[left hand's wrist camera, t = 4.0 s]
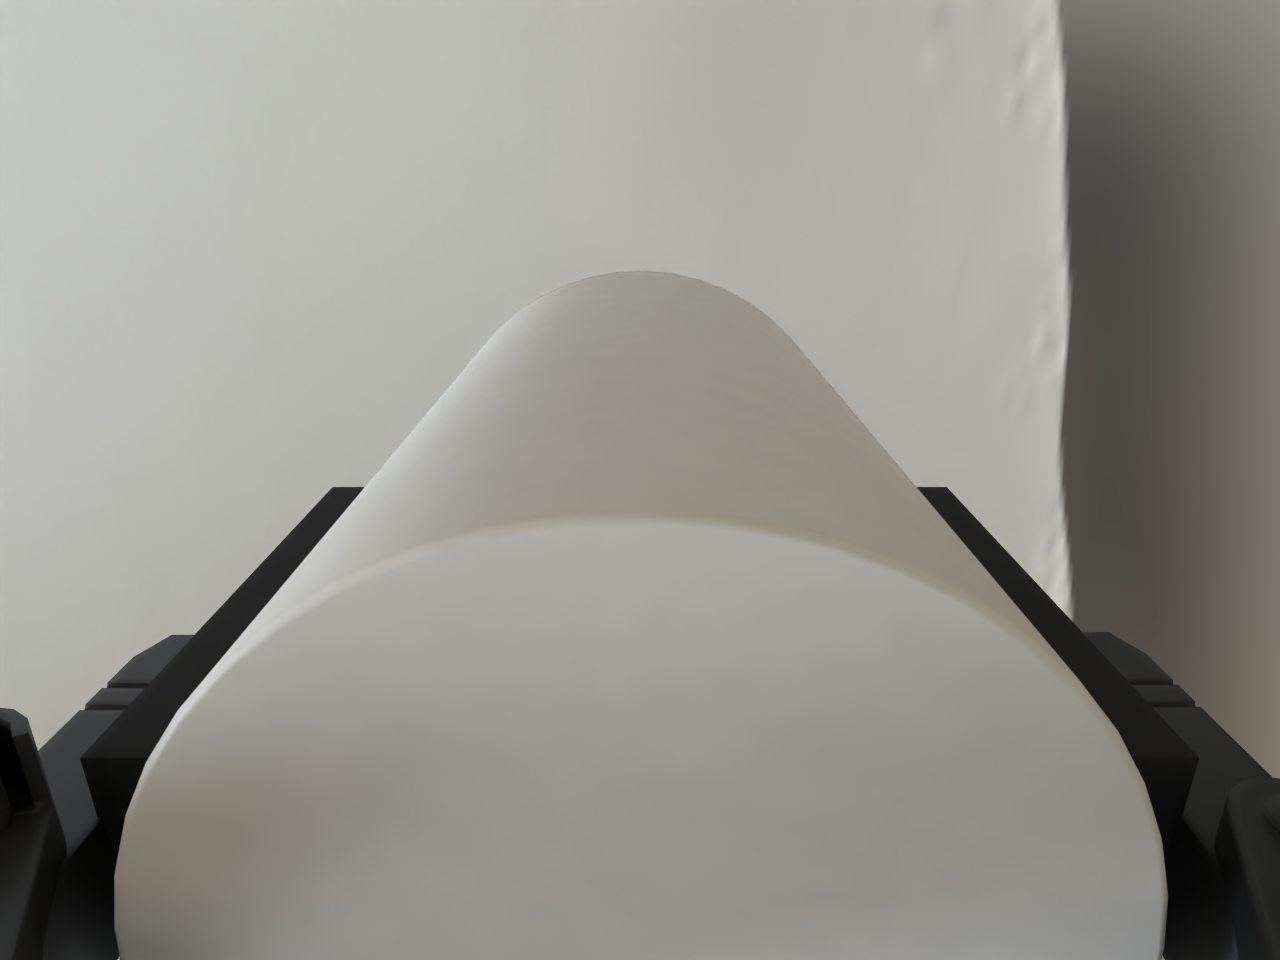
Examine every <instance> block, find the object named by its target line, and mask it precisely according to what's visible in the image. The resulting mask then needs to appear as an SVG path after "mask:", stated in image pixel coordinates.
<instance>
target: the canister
mask: <svg viewBox="0 0 1280 960" xmlns="http://www.w3.org/2000/svg"><path fill="white" fill-rule="evenodd" d="M1167 904H1168V891H1167V882H1166V873H1165V863H1164V854H1163V845H1162V839H1161V835H1160V832H1159V828H1158V825H1157V822H1156V818H1155V815H1154V812H1153V808H1152V805H1151V802H1150V799H1149V795H1148V792H1147V789H1146V785H1145V783H1144V781H1143V779H1142V777H1141V775H1140V773H1139V771H1138V769H1137V767H1136V765H1135V763H1134V761H1133V759H1132V757H1131V755H1130V753H1129V752H1128V750H1127V748H1126V746H1125V744H1124V742H1123V740H1122V738H1121V736H1120V734H1119V732H1118V730H1117V729H1116V728H1115V727H1114V725H1113V724H1112V723H1111V721H1110V720H1109V719H1108V717H1107V716H1106V715H1105V713H1104V712H1103V711H1102V709H1101V708H1100V707H1099V705H1098V704H1097V703H1096V701H1095V700H1094V699H1093V697H1092V696H1091V695H1090V694H1089V692H1088V691H1087V690H1086V688H1085V687H1084V686H1083V684H1082V683H1081V682H1080V680H1079V679H1078V678H1077V677H1076V676H1075V674H1074V673H1073V672H1072V671H1071V670H1070V669H1069V667H1068V666H1067V665H1066V664H1065V663H1064V661H1063V660H1062V659H1061V658H1060V657H1059V655H1058V654H1057V653H1056V652H1055V651H1054V650H1053V648H1052V647H1051V646H1050V645H1049V644H1048V642H1047V641H1046V640H1045V639H1044V638H1043V637H1042V635H1041V634H1040V633H1039V632H1038V631H1037V629H1036V628H1035V627H1034V626H1033V625H1032V624H1031V622H1030V621H1029V620H1028V619H1027V618H1026V616H1025V615H1024V614H1023V613H1022V612H1021V610H1020V609H1019V608H1018V607H1017V606H1016V605H1015V603H1014V602H1013V601H1012V600H1011V599H1010V597H1009V596H1008V595H1007V594H1006V593H1005V592H1004V590H1003V589H1002V588H1001V587H1000V586H999V584H998V583H997V582H996V581H995V580H994V578H993V577H992V576H991V575H990V574H989V573H988V571H987V570H986V569H985V568H984V567H983V565H982V564H981V563H980V562H979V561H978V560H977V558H976V557H975V556H974V555H973V554H972V552H971V551H970V550H969V549H968V548H967V546H966V545H965V544H964V543H963V542H962V541H961V539H960V538H959V537H958V536H957V535H956V533H955V532H954V531H953V530H952V529H951V528H950V526H949V525H948V524H947V523H946V522H945V520H944V519H943V518H942V517H941V516H940V514H939V513H938V512H937V511H936V510H935V509H934V507H933V506H932V505H931V504H930V503H929V501H928V500H927V499H926V498H925V497H924V496H923V494H922V493H921V492H920V491H919V490H918V488H917V487H916V486H915V485H914V484H913V482H912V481H911V480H910V479H909V478H908V477H907V475H906V474H905V473H904V472H903V471H902V469H901V468H900V467H899V466H898V465H897V464H896V462H895V461H894V460H893V459H892V458H891V456H890V455H889V454H888V453H887V452H886V450H885V449H884V448H883V447H882V446H881V445H880V443H879V442H878V441H877V440H876V439H875V437H874V436H873V435H872V434H871V433H870V432H869V430H868V429H867V428H866V427H865V426H864V424H863V423H862V422H861V421H860V420H859V418H858V417H857V416H856V415H855V414H854V413H853V411H852V410H851V409H850V408H849V407H848V405H847V404H846V403H845V402H844V401H843V400H842V398H841V397H840V396H839V395H838V394H837V392H836V391H835V390H834V389H833V388H832V386H831V385H830V384H829V383H828V382H827V381H826V379H825V378H824V377H823V376H822V375H821V373H820V372H819V371H818V370H817V369H816V368H815V366H814V365H813V364H812V363H811V362H810V360H809V359H808V358H807V357H806V356H805V354H804V353H803V352H802V351H801V350H800V349H799V347H798V346H797V345H796V344H795V343H794V341H793V340H792V339H791V338H790V337H789V336H788V335H787V334H786V333H785V332H784V331H783V330H782V329H781V328H780V327H779V326H778V325H777V324H776V323H775V322H774V321H773V320H772V319H771V318H770V317H768V316H767V315H766V314H764V313H763V312H761V311H760V310H759V309H757V308H756V307H755V306H753V305H752V304H751V303H749V302H747V301H746V300H744V299H742V298H740V297H738V296H736V295H735V294H733V293H731V292H729V291H727V290H725V289H723V288H720V287H717V286H715V285H712V284H710V283H707V282H704V281H702V280H698V279H694V278H690V277H685V276H681V275H677V274H671V273H661V272H650V271H636V272H616V273H611V274H605V275H599V276H594V277H589V278H586V279H583V280H580V281H577V282H574V283H570V284H567V285H564V286H562V287H560V288H558V289H556V290H554V291H552V292H550V293H548V294H546V295H543V296H541V297H540V298H538V299H536V300H535V301H533V302H532V303H530V304H529V305H527V306H526V307H524V308H523V309H521V310H520V311H518V312H517V313H516V314H515V315H514V316H512V317H511V318H510V319H509V320H508V321H507V322H506V323H504V324H503V325H502V326H501V327H500V328H499V329H498V330H497V331H496V332H495V333H494V334H493V336H492V337H491V338H490V339H489V340H488V341H487V342H486V344H485V345H484V346H483V347H482V348H481V349H480V351H479V352H478V353H477V354H476V355H475V357H474V358H473V359H472V360H471V361H470V363H469V364H468V365H467V366H466V367H465V368H464V370H463V371H462V372H461V373H460V374H459V376H458V377H457V378H456V379H455V380H454V382H453V383H452V384H451V385H450V386H449V388H448V389H447V390H446V391H445V392H444V394H443V395H442V396H441V397H440V398H439V399H438V401H437V402H436V403H435V404H434V405H433V407H432V408H431V409H430V410H429V411H428V413H427V414H426V415H425V416H424V417H423V419H422V420H421V421H420V422H419V423H418V425H417V426H416V427H415V428H414V429H413V430H412V432H411V433H410V434H409V435H408V436H407V438H406V439H405V440H404V441H403V442H402V444H401V445H400V446H399V447H398V448H397V450H396V451H395V452H394V453H393V454H392V456H391V457H390V458H389V459H388V460H387V461H386V463H385V464H384V465H383V466H382V467H381V469H380V470H379V471H378V472H377V473H376V475H375V476H374V477H373V478H372V479H371V481H370V482H369V483H368V484H367V485H366V487H365V488H364V489H363V490H362V491H361V492H360V494H359V495H358V496H357V497H356V498H355V500H354V501H353V502H352V503H351V504H350V506H349V507H348V508H347V509H346V510H345V512H344V513H343V514H342V515H341V516H340V517H339V519H338V520H337V521H336V522H335V523H334V525H333V526H332V527H331V528H330V529H329V531H328V532H327V533H326V534H325V535H324V537H323V538H322V539H321V540H320V541H319V543H318V544H317V545H316V546H315V547H314V548H313V550H312V551H311V552H310V553H309V554H308V556H307V557H306V558H305V559H304V560H303V562H302V563H301V564H300V565H299V566H298V568H297V569H296V570H295V571H294V572H293V574H292V575H291V576H290V577H289V578H288V579H287V581H286V582H285V583H284V584H283V585H282V587H281V588H280V589H279V590H278V591H277V593H276V594H275V595H274V596H273V597H272V599H271V600H270V601H269V602H268V603H267V605H266V606H265V607H264V608H263V609H262V610H261V612H260V613H259V614H258V615H257V616H256V618H255V619H254V620H253V621H252V622H251V624H250V625H249V626H248V627H247V628H246V630H245V631H244V632H243V633H242V634H241V636H240V637H239V638H238V639H237V640H236V641H235V643H234V644H233V645H232V646H231V647H230V649H229V650H228V651H227V652H226V653H225V655H224V656H223V657H222V658H221V659H220V661H219V662H218V663H217V664H216V665H215V667H214V668H213V669H212V670H211V671H210V672H209V674H208V675H207V676H206V677H205V678H204V680H203V681H202V682H201V683H200V684H199V686H198V687H197V688H196V689H195V690H194V692H193V693H192V694H191V695H190V696H189V698H188V699H187V700H186V701H185V702H184V703H183V705H182V706H181V707H180V708H179V709H178V711H177V712H176V714H175V716H174V717H173V719H172V720H171V722H170V724H169V725H168V727H167V729H166V730H165V732H164V734H163V735H162V737H161V739H160V740H159V742H158V743H157V745H156V747H155V748H154V750H153V752H152V753H151V755H150V757H149V758H148V760H147V762H146V764H145V766H144V769H143V771H142V774H141V777H140V779H139V782H138V784H137V787H136V790H135V792H134V795H133V797H132V800H131V803H130V805H129V808H128V810H127V813H126V816H125V821H124V826H123V832H122V837H121V842H120V848H119V853H118V859H117V864H116V869H115V875H114V928H115V933H116V939H117V944H118V950H119V955H120V960H1161V958H1162V954H1163V950H1164V945H1165V931H1166V918H1167Z"/></svg>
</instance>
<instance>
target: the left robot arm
mask: <svg viewBox="0 0 1280 960" xmlns="http://www.w3.org/2000/svg"><path fill="white" fill-rule="evenodd" d="M364 488H365V487H332V489H331V490H330V491H329V492H328V493H327V494H326V495H325V496H324V497H323V498H322V499H321V500H320V501H319V502H318V504H317V505H316V506H315V507H314V508H313V509H312V510H311V511H310V512H309V513H308V514H307V515H306V516H305V517H304V519H303V520H302V521H301V522H300V523H299V524H298V525H297V526H296V527H295V528H294V529H293V530H292V531H291V532H290V533H289V535H288V536H287V537H286V538H285V539H284V540H283V541H282V542H281V543H280V544H279V545H278V546H277V547H276V548H275V550H274V551H273V552H272V553H271V554H270V555H269V556H268V557H267V558H266V559H265V560H264V561H263V562H262V563H261V565H260V566H259V567H258V568H257V569H256V570H255V571H254V572H253V573H252V574H251V575H250V576H249V577H248V578H247V580H246V581H245V582H244V583H243V584H242V585H241V586H240V587H239V588H238V589H237V590H236V591H235V592H234V593H233V594H232V596H231V597H230V598H229V599H228V600H227V601H226V602H225V603H224V604H223V605H222V606H221V607H220V608H219V609H218V611H217V612H216V613H215V614H214V615H213V616H212V617H211V618H210V619H209V620H208V621H207V622H206V623H205V624H204V626H203V627H202V628H201V629H200V630H199V631H198V632H197V633H196V634H195V635H171V636H169V637H168V638H166V639H164V640H162V641H161V642H159V643H157V644H155V645H154V646H152V647H150V648H149V649H147V650H145V651H143V652H142V653H140V654H138V655H136V656H135V657H133V658H132V659H131V660H130V661H129V662H128V663H127V664H126V665H125V666H124V667H123V668H122V669H121V670H120V671H119V672H118V673H117V674H116V675H115V676H114V677H113V678H112V679H111V680H110V681H109V682H108V683H107V688H102V689H101V690H100V691H99V692H98V693H97V694H96V695H95V696H94V697H93V698H92V699H91V700H90V701H89V702H88V703H87V704H86V705H85V706H86V707H85V710H79V711H78V712H77V713H76V714H75V715H74V716H73V717H72V718H71V719H70V720H69V721H68V722H67V723H66V724H65V725H64V726H63V727H62V728H61V729H60V730H59V731H58V732H57V733H56V734H55V735H54V736H53V737H52V738H51V739H50V740H49V741H48V742H47V743H46V744H45V745H44V746H43V747H42V748H41V749H40V750H39V751H38V750H37V747H36V744H35V741H34V737H33V734H32V731H31V728H30V725H29V722H28V719H27V718H26V717H25V716H23V715H22V714H20V713H18V712H17V711H15V710H14V709H6V708H0V960H117V959H118V958H119V956H120V955H119V950H118V944H117V939H116V933H115V928H114V875H115V869H116V864H117V859H118V853H119V848H120V842H121V837H122V832H123V826H124V821H125V816H126V813H127V810H128V808H129V805H130V803H131V800H132V797H133V795H134V792H135V790H136V787H137V784H138V782H139V779H140V777H141V774H142V771H143V769H144V766H145V764H146V762H147V760H148V758H149V757H150V755H151V753H152V752H153V750H154V748H155V747H156V745H157V743H158V742H159V740H160V739H161V737H162V735H163V734H164V732H165V730H166V729H167V727H168V725H169V724H170V722H171V720H172V719H173V717H174V716H175V714H176V712H177V711H178V709H179V708H180V707H181V706H182V705H183V703H184V702H185V701H186V700H187V699H188V698H189V696H190V695H191V694H192V693H193V692H194V690H195V689H196V688H197V687H198V686H199V684H200V683H201V682H202V681H203V680H204V678H205V677H206V676H207V675H208V674H209V672H210V671H211V670H212V669H213V668H214V667H215V665H216V664H217V663H218V662H219V661H220V659H221V658H222V657H223V656H224V655H225V653H226V652H227V651H228V650H229V649H230V647H231V646H232V645H233V644H234V643H235V641H236V640H237V639H238V638H239V637H240V636H241V634H242V633H243V632H244V631H245V630H246V628H247V627H248V626H249V625H250V624H251V622H252V621H253V620H254V619H255V618H256V616H257V615H258V614H259V613H260V612H261V610H262V609H263V608H264V607H265V606H266V605H267V603H268V602H269V601H270V600H271V599H272V597H273V596H274V595H275V594H276V593H277V591H278V590H279V589H280V588H281V587H282V585H283V584H284V583H285V582H286V581H287V579H288V578H289V577H290V576H291V575H292V574H293V572H294V571H295V570H296V569H297V568H298V566H299V565H300V564H301V563H302V562H303V560H304V559H305V558H306V557H307V556H308V554H309V553H310V552H311V551H312V550H313V548H314V547H315V546H316V545H317V544H318V543H319V541H320V540H321V539H322V538H323V537H324V535H325V534H326V533H327V532H328V531H329V529H330V528H331V527H332V526H333V525H334V523H335V522H336V521H337V520H338V519H339V517H340V516H341V515H342V514H343V513H344V512H345V510H346V509H347V508H348V507H349V506H350V504H351V503H352V502H353V501H354V500H355V498H356V497H357V496H358V495H359V494H360V492H361V491H362V490H363V489H364ZM917 488H918V490H919V491H920V492H921V493H922V494H923V496H924V497H925V498H926V499H927V500H928V501H929V503H930V504H931V505H932V506H933V507H934V509H935V510H936V511H937V512H938V513H939V514H940V516H941V517H942V518H943V519H944V520H945V522H946V523H947V524H948V525H949V526H950V528H951V529H952V530H953V531H954V532H955V533H956V535H957V536H958V537H959V538H960V539H961V541H962V542H963V543H964V544H965V545H966V546H967V548H968V549H969V550H970V551H971V552H972V554H973V555H974V556H975V557H976V558H977V560H978V561H979V562H980V563H981V564H982V565H983V567H984V568H985V569H986V570H987V571H988V573H989V574H990V575H991V576H992V577H993V578H994V580H995V581H996V582H997V583H998V584H999V586H1000V587H1001V588H1002V589H1003V590H1004V592H1005V593H1006V594H1007V595H1008V596H1009V597H1010V599H1011V600H1012V601H1013V602H1014V603H1015V605H1016V606H1017V607H1018V608H1019V609H1020V610H1021V612H1022V613H1023V614H1024V615H1025V616H1026V618H1027V619H1028V620H1029V621H1030V622H1031V624H1032V625H1033V626H1034V627H1035V628H1036V629H1037V631H1038V632H1039V633H1040V634H1041V635H1042V637H1043V638H1044V639H1045V640H1046V641H1047V642H1048V644H1049V645H1050V646H1051V647H1052V648H1053V650H1054V651H1055V652H1056V653H1057V654H1058V655H1059V657H1060V658H1061V659H1062V660H1063V661H1064V663H1065V664H1066V665H1067V666H1068V667H1069V669H1070V670H1071V671H1072V672H1073V673H1074V674H1075V676H1076V677H1077V678H1078V679H1079V680H1080V682H1081V683H1082V684H1083V686H1084V687H1085V688H1086V690H1087V691H1088V692H1089V694H1090V695H1091V696H1092V697H1093V699H1094V700H1095V701H1096V703H1097V704H1098V705H1099V707H1100V708H1101V709H1102V711H1103V712H1104V713H1105V715H1106V716H1107V717H1108V719H1109V720H1110V721H1111V723H1112V724H1113V725H1114V727H1115V728H1116V729H1117V730H1118V732H1119V734H1120V736H1121V738H1122V740H1123V742H1124V744H1125V746H1126V748H1127V750H1128V752H1129V753H1130V755H1131V757H1132V759H1133V761H1134V763H1135V765H1136V767H1137V769H1138V771H1139V773H1140V775H1141V777H1142V779H1143V781H1144V783H1145V785H1146V789H1147V792H1148V795H1149V799H1150V802H1151V805H1152V808H1153V812H1154V815H1155V818H1156V822H1157V825H1158V828H1159V832H1160V835H1161V839H1162V845H1163V854H1164V863H1165V873H1166V882H1167V891H1168V904H1167V918H1166V931H1165V945H1164V950H1163V954H1162V955H1163V957H1164V958H1165V960H1280V779H1277V778H1273V777H1271V776H1270V775H1269V774H1268V773H1267V772H1266V771H1265V770H1264V769H1263V768H1262V767H1261V766H1260V765H1259V764H1258V763H1257V762H1256V761H1255V760H1254V759H1253V758H1252V757H1251V756H1250V755H1249V754H1248V753H1247V752H1246V751H1245V750H1244V749H1243V748H1242V747H1241V746H1240V745H1239V744H1238V743H1237V742H1236V741H1235V740H1234V739H1233V738H1232V737H1231V736H1230V735H1229V734H1228V733H1226V732H1225V731H1224V730H1223V729H1222V728H1221V727H1220V726H1219V725H1218V724H1217V723H1216V722H1215V721H1214V720H1213V719H1212V718H1211V717H1210V716H1209V715H1208V714H1207V713H1206V712H1205V711H1204V710H1203V709H1202V708H1201V707H1195V701H1194V700H1193V699H1192V698H1191V697H1190V696H1189V695H1188V694H1187V693H1186V692H1185V691H1184V690H1183V689H1181V688H1180V687H1179V686H1178V685H1173V680H1172V679H1171V678H1170V677H1169V676H1168V675H1167V674H1166V673H1165V672H1164V671H1163V670H1162V669H1161V668H1160V667H1159V666H1158V665H1157V664H1156V663H1155V662H1154V661H1153V660H1152V659H1151V658H1150V657H1149V656H1148V655H1147V654H1145V653H1143V652H1142V651H1140V650H1138V649H1137V648H1135V647H1133V646H1131V645H1130V644H1128V643H1126V642H1124V641H1123V640H1121V639H1119V638H1117V637H1116V636H1114V635H1112V634H1110V633H1109V632H1081V630H1080V629H1079V628H1078V627H1077V626H1076V625H1075V624H1074V623H1073V622H1072V621H1071V620H1070V619H1069V618H1068V617H1067V615H1066V614H1065V613H1064V612H1063V611H1062V610H1061V609H1060V608H1059V607H1058V606H1057V605H1056V604H1055V603H1054V602H1053V600H1052V599H1051V598H1050V597H1049V596H1048V595H1047V594H1046V593H1045V592H1044V591H1043V590H1042V589H1041V588H1040V587H1039V585H1038V584H1037V583H1036V582H1035V581H1034V580H1033V579H1032V578H1031V577H1030V576H1029V575H1028V574H1027V573H1026V572H1025V570H1024V569H1023V568H1022V567H1021V566H1020V565H1019V564H1018V563H1017V562H1016V561H1015V560H1014V559H1013V558H1012V557H1011V556H1010V554H1009V553H1008V552H1007V551H1006V550H1005V549H1004V548H1003V547H1002V546H1001V545H1000V544H999V543H998V542H997V541H996V539H995V538H994V537H993V536H992V535H991V534H990V533H989V532H988V531H987V530H986V529H985V528H984V527H983V526H982V524H981V523H980V522H979V521H978V520H977V519H976V518H975V517H974V516H973V515H972V514H971V513H970V512H969V511H968V509H967V508H966V507H965V506H964V505H963V504H962V503H961V502H960V501H959V500H958V499H957V498H956V497H955V496H954V494H953V493H952V492H951V491H950V490H949V489H948V488H947V487H917Z"/></svg>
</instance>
